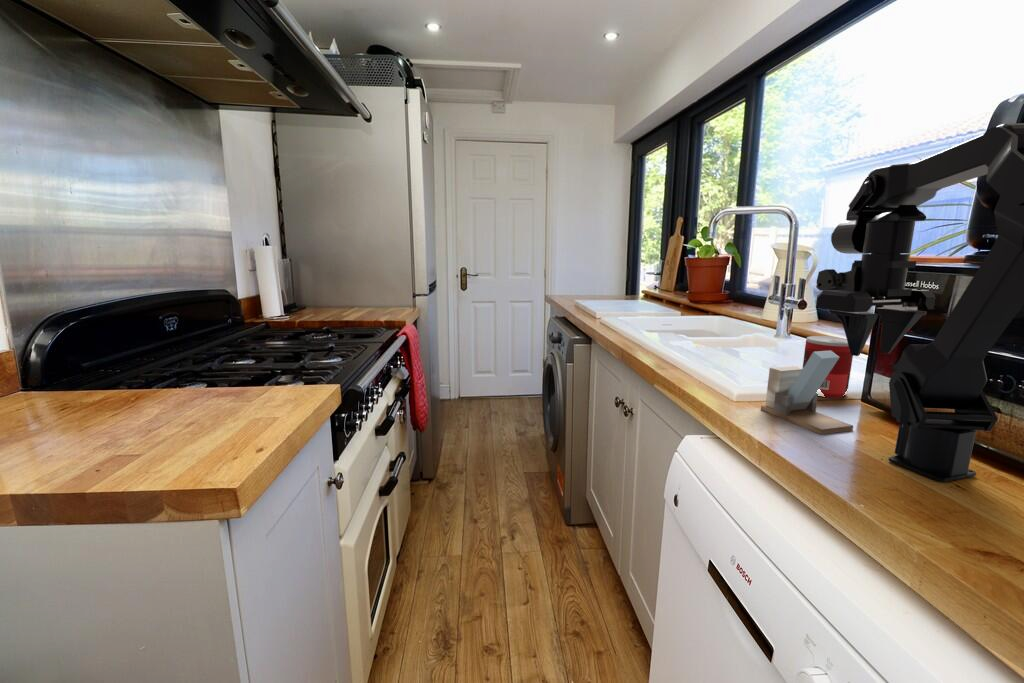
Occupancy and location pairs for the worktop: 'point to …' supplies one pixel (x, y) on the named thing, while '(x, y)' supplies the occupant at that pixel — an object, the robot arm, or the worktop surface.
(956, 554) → the worktop surface
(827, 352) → the leg
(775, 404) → the wooden base block holder
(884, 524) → the worktop surface
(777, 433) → the worktop surface
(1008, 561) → the worktop surface
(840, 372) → the canned food
